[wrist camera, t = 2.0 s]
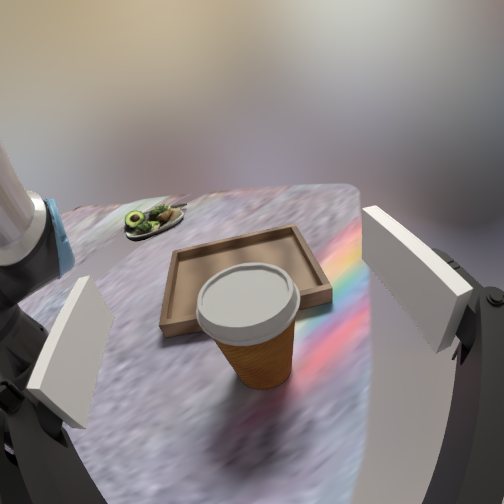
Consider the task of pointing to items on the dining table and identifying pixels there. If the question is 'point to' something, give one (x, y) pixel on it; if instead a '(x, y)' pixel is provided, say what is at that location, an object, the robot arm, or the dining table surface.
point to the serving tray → (234, 253)
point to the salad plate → (152, 221)
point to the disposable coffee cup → (252, 320)
